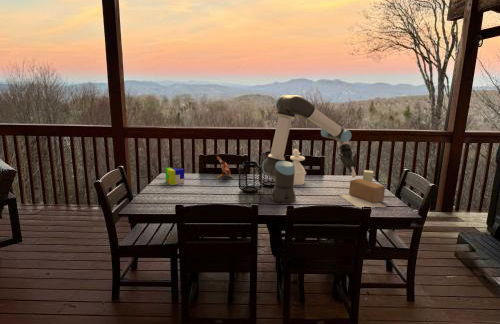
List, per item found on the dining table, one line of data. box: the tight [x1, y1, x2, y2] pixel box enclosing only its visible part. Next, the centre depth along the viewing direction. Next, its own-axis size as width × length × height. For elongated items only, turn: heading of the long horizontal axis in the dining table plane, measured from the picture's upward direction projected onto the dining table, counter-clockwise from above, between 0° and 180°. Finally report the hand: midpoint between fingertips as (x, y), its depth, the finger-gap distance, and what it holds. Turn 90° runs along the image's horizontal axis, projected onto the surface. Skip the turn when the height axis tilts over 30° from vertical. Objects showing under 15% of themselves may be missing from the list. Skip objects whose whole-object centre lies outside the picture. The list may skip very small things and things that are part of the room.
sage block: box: [362, 169, 374, 182], centre depth 227 cm, size 6×6×14 cm
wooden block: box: [348, 178, 386, 203], centre depth 211 cm, size 10×10×20 cm
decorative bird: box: [216, 155, 234, 179], centre depth 251 cm, size 28×18×15 cm, turn 6°
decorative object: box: [289, 148, 307, 186], centre depth 241 cm, size 16×14×25 cm
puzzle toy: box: [164, 166, 185, 186], centre depth 236 cm, size 10×10×10 cm
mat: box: [339, 194, 387, 209], centre depth 206 cm, size 23×18×1 cm
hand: (354, 176), depth 215 cm, fingers closed
